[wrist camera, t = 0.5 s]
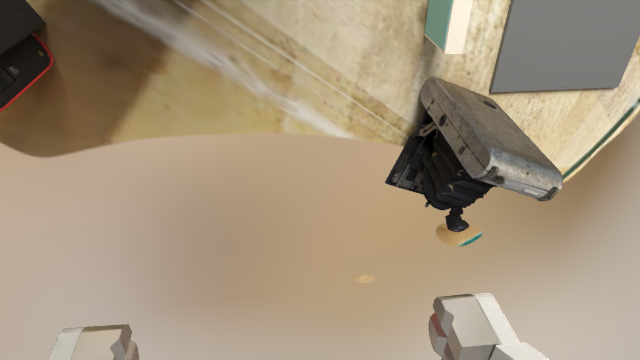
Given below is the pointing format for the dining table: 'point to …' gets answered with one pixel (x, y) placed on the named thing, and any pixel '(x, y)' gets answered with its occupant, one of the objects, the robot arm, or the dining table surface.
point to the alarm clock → (20, 50)
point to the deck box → (448, 24)
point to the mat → (566, 44)
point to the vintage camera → (469, 153)
